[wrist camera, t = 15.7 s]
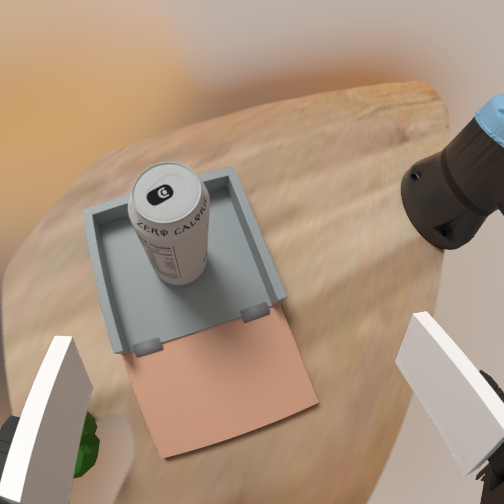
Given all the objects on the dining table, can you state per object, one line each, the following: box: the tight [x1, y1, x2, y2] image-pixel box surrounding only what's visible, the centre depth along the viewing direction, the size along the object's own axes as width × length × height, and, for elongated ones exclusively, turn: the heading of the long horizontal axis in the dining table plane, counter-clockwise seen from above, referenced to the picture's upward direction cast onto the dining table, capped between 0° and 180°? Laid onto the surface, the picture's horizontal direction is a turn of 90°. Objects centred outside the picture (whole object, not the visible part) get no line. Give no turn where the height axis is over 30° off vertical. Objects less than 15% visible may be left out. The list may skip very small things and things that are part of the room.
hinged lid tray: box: [83, 167, 319, 459], centre depth 32 cm, size 18×28×4 cm, turn 21°
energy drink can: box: [128, 162, 210, 285], centre depth 28 cm, size 6×6×15 cm
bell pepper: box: [73, 412, 100, 478], centre depth 23 cm, size 8×8×10 cm
